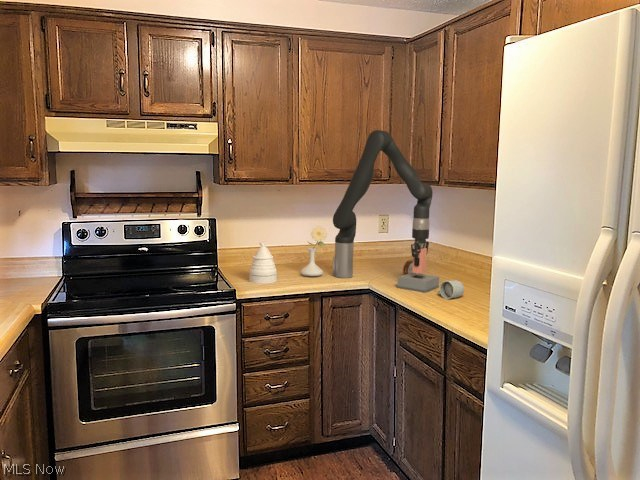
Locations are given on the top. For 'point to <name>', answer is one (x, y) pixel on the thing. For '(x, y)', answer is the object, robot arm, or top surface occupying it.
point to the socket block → (418, 282)
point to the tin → (408, 267)
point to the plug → (420, 262)
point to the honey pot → (263, 267)
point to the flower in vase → (312, 268)
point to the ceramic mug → (451, 289)
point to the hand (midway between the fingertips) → (419, 265)
